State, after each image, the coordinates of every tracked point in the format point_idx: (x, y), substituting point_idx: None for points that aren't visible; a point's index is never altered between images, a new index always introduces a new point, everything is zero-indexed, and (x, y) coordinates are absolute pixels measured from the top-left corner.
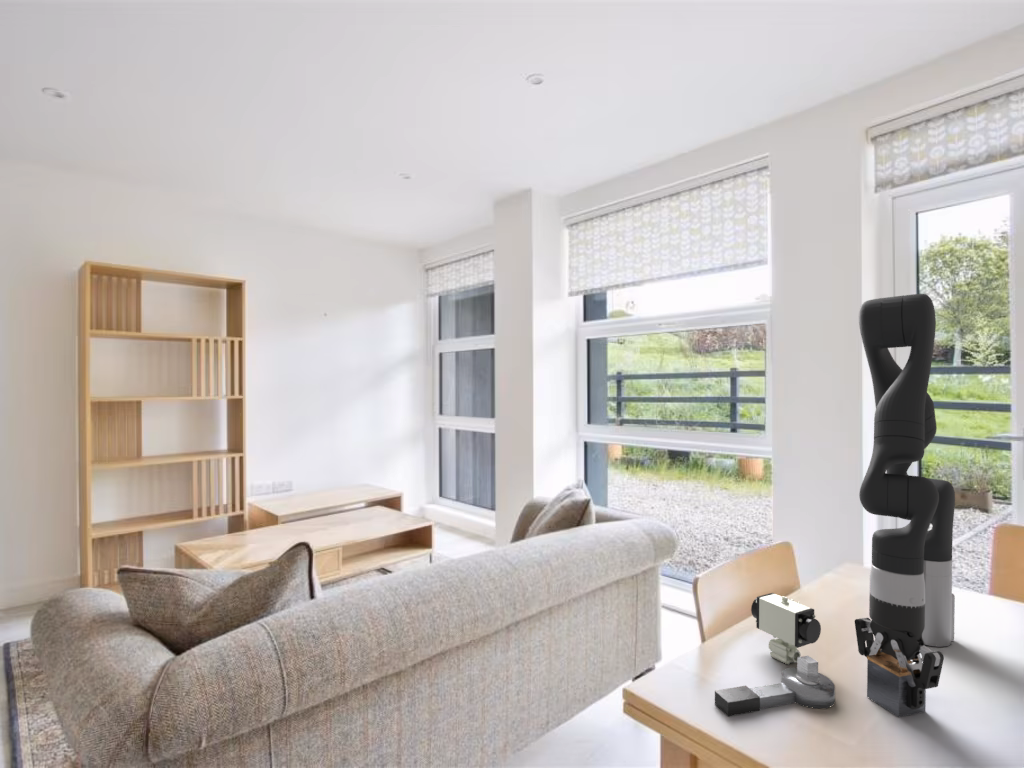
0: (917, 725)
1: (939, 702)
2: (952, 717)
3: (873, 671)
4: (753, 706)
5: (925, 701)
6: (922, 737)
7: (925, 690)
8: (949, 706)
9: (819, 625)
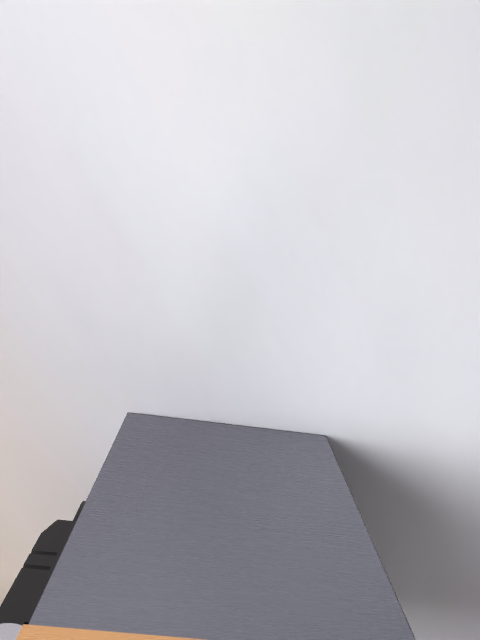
0: None
1: (308, 258)
2: (423, 353)
3: None
4: None
5: (340, 470)
6: (425, 634)
7: (361, 519)
8: (360, 247)
9: None
